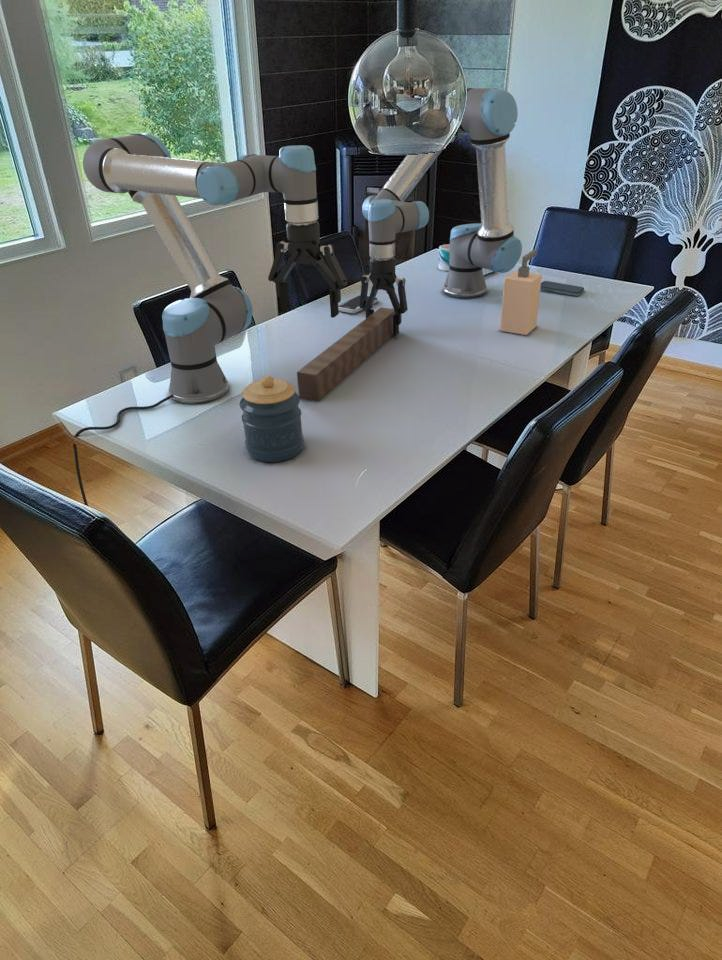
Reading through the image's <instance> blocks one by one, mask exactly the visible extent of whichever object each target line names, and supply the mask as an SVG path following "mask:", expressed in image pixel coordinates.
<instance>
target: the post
mask: <svg viewBox="0 0 722 960" xmlns="http://www.w3.org/2000/svg"><path fill="white" fill-rule="evenodd" d="M394 314H395V311H394V308H390V307H381V306H380V307H379V308H378V309H376V310H374V313H373V314H371V315H370V316H369V317H368V318H366V317H365V318H364V320H362V321H361V322H360V323H358V324H357V325H356V326H355V327H353V328H352V329H351V330H349V331H348V332H347V333H345V334H344V335H343V336H341V337H340V338H339V339H338V340H336V341H335V342H334V343H333V344H331V345H329V347H327V348H326V349H325V350H323V351H322V352H321V353H319V354H318V355H317V356H316V357H314V358H313V359H311V360H310V361H309V362H307V364H305V365H304V366H303V367H301V368H300V369H299V370H297V371H296V378H297V388H298V389H297V390H298V395H299V397H300V399H302V400H309V401H313V402H319V401H320V400H322V398H323V397H325V395H326V394H328V393H329V392H330V391H331V390H332V389H334V388H335V387H336V386H337V385H339V383H340V382H342V381H343V380H344V379H346V377H347V376H348V375H350V374H351V373H352V372H353V371H354V370H355V369H357V367H359V366H360V365H361V364H362V363H363V362H365V361H366V359H368V358H369V357H370V356H371V355H372V354H374V352H376V351H377V350H378V349H379V348H380V347H381V346H382V345H384V344H385V343H386V342H387V341H388V340H390V339H391V338H392V337H393V315H394Z"/></svg>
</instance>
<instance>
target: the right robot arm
mask: <svg viewBox="0 0 722 960" xmlns="http://www.w3.org/2000/svg"><path fill="white" fill-rule="evenodd" d="M466 88H467V101H466V107H465V112H464V115H463V119H462V122H461V125H460V127H459V128H458V130H457V132H456V134H455V135H454V137H453V138H452V140H451V141H450V143H453V142H454V141H455V140H456V138H457V137H458V136H459V135H461V134H463V133H469V141H470V145H471V146H473V147H474V148H475V153H476V166H477V181H478V196H479V209H480V223H466V224H460V225H456V226H454V227H452V229H451V230H450V237H449V244H450V258H449V271H447V275H446V278H445V280H444V283H443V287H442V288H443V290H442V292H443V294H444V295H446V296H448V297H450V298H455V299H476V298H481V297H483V296H485V295H486V293H487V284H486V280H485V278H486V277H488V276H490V275H493V274H496V273H502V274H505V273H508V272H510V271H512V270H513V269H514V268H515V266H516V265H517V264H518V263H519V260H520V258H521V255H522V252H523V251H522V250H523V244H522V241H521V240H520V238H518V237H517V236H515V231H514V229H515V228H514V225H512V224H511V223H510V222H509V205H508V203H509V202H508V201H509V200H508V182H507V162H506V159H507V158H506V157H507V156H506V143H507V142H508V140H509V139H510V138H511V132H512V131H513V130H514V129H515V127H516V124H515V123H517V121H518V105H517V101H516V99H515V97H514V95H512V94H511V92H510V91H509V90H506V89H500V88H498V87H497V88H495V87H491V88H490V87H487V88H485V87H484V88H483V87H482V88H481V87H479V88H477V87H466ZM450 143H449V144H450ZM442 152H443V150H441V151H438V152H435V153H428V154H418V155H408V154H406V156H405V157H404V158H403V160H402V161H401V162H400V164H399V165H398V167H397V168H396V169H395V171H394V172H393V173H392V174H391V176H390V177H389V179H388V180H387V181H386V182H385V184H384V185H383V187H382V188H381V189H380V191H379V192H378V193H377V195H376V194H374V195H369V196H368V197H366V198H365V199H364V201H363V203H362V205H361V206H362V207H361V208H362V209H361V210H362V211H361V212H362V216H363V217H364V219H365V220H366V221H367V222H368V239H369V240H368V241H369V242H368V243H369V244H368V246H369V249H368V251H369V255H368V256H369V257H370V258H369V274H363V275H362V276H360V283H361V287H360V305H359V307H360V308H361V309H363V310H364V311H365V319H366V318H368V317H369V316H370V315H371V314H373V313H374V312H375V309H374V308H373V306H374V304H373V302H374V300H375V298H377V294H378V291H379V290H383V291H385V292H386V294H387V295H388V297H389V300H390V302H391V303H390V304H391V305H392V309H394V311H395V314H394V315H393V335H392V337H393V336H394V337H395V336H397V335H399V333H400V325H401V324H402V319H403V318H402V315H403V314H405V313H406V312H408V309H409V308H408V301H407V294H406V293H407V292H406V288H405V286H406V282H407V281H406V278H405V277H403V278H400V277H397V275H396V258H395V256H396V234H400V233H401V234H402V233H406V232H410V231H417V230H419V229H422V228H424V227H426V225H427V224H428V223H429V220H430V210H429V208H428V206H427V204H426V203H425V202H424V201H421V200H413V201H412V202H409V201H408V202H407V201H406V199H407V198H408V197H409V195H410V194H411V193H412V192H413V190H414V189H415V187H416V186H417V184H419V182H420V181H421V179H422V178H423V177H424V175H425V174H426V172H427V171H428V170H429V168H430V167H431V166H432V165H433V163H434V162H435V161H436V159H437V158H438V156H439V155H440V154H441V153H442ZM483 269H485V270H488V271H491V272H488V273H485V274H484V271H483ZM370 282H371V284H372V286H371V289H370V294H369V299H368V301H367V296H368V291H369V283H370ZM395 283H396V286H397V293H398V295H397V293H396V288H395V285H394V284H395ZM366 302H367V304H366Z"/></svg>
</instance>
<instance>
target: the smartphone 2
mask: <svg viewBox="0 0 722 960" xmlns="http://www.w3.org/2000/svg"><path fill="white" fill-rule="evenodd" d="M540 291H545V292H551V293H557V294H562V295H568V296H574V297H579V296H580V295H581V294H582V293H584V292H585V287H583V286H580V285H572V284H567V283H561V282H555V281H549V280H543V281H541V288H540Z"/></svg>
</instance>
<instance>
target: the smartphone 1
mask: <svg viewBox="0 0 722 960" xmlns="http://www.w3.org/2000/svg"><path fill="white" fill-rule="evenodd" d="M360 295H361V294H360ZM360 295H357V296H355V297H353V298H350V299H348V300H347V301H346V300H345V301H344V302H343V303H340V304H338V311H339V312H341V313H347V314H357V313H358V312H361V311H362V310H364V309H361V308H360V307H359V305H360ZM369 296H370V295H369ZM369 296H368V295H367V301H368V299H369ZM376 303H378V298H377V297H375V300H374V302H373V305H374V304H376ZM366 304H367V302H366Z"/></svg>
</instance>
